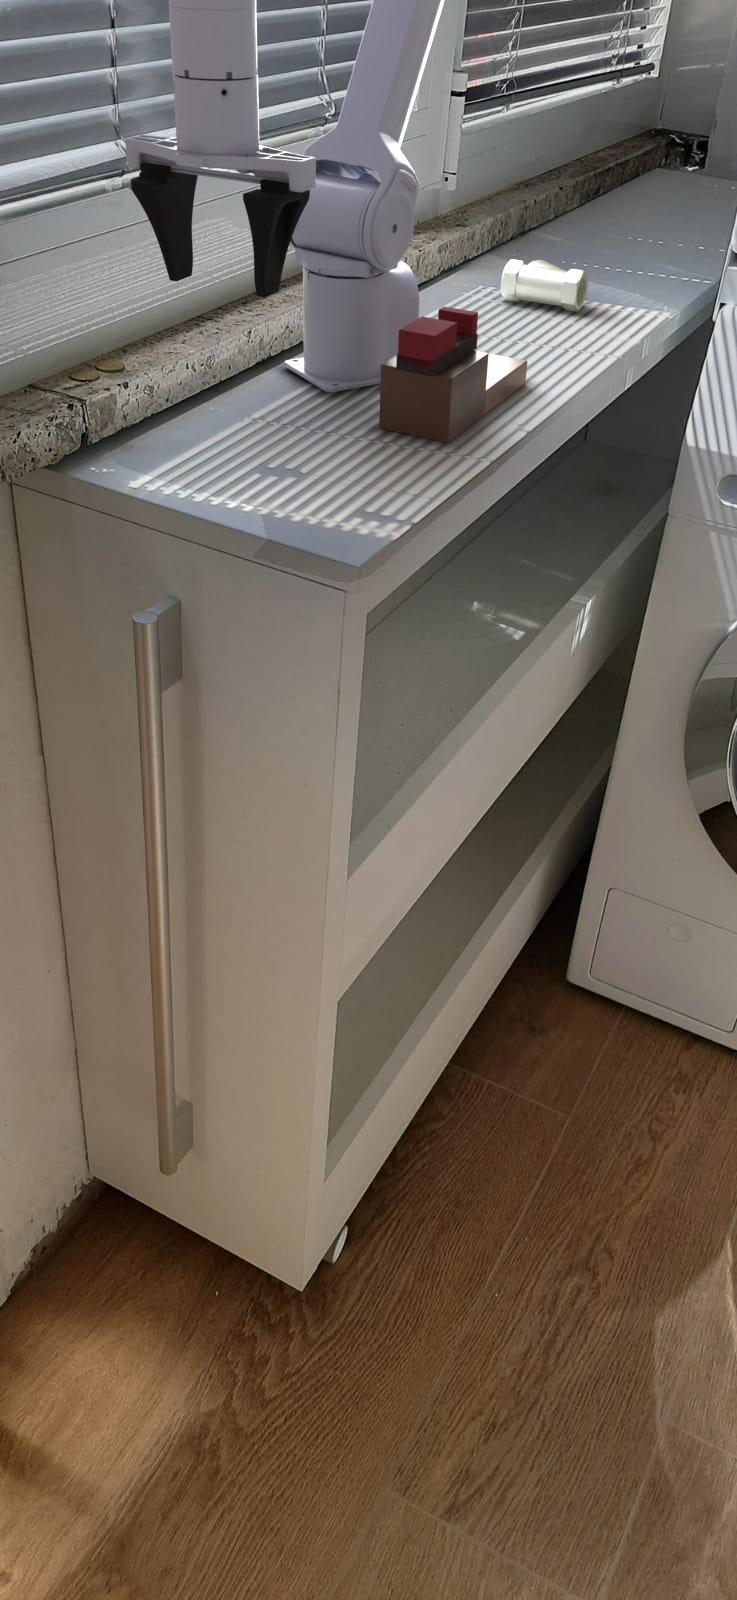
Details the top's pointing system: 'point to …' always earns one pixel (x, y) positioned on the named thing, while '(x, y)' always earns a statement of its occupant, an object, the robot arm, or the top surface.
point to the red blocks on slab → (437, 341)
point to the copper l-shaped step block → (446, 395)
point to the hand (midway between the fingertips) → (223, 285)
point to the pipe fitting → (544, 284)
